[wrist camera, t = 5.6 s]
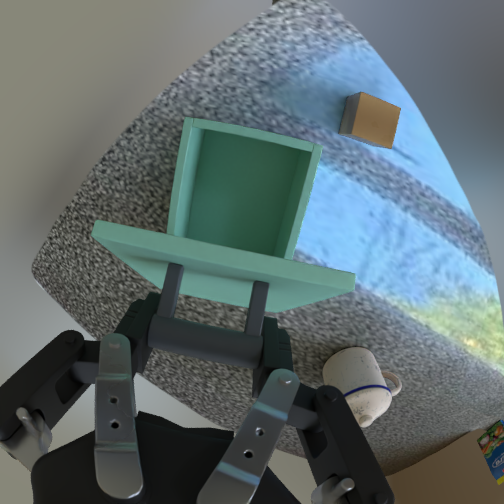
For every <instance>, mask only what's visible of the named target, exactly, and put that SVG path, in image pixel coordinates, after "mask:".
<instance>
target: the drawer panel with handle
mask: <svg viewBox="0 0 504 504" xmlns="http://www.w3.org/2000/svg"><path fill="white" fill-rule="evenodd" d="M91 236H92V237H93V238H94V239H96V240H97V241H98V242H99V243H101V244H102V245H103V246H104V247H106V248H107V249H108V250H109V251H111V252H112V253H113V254H114V255H116V256H117V257H118V258H120V259H121V260H122V261H123V262H125V263H126V264H127V265H129V266H130V267H131V268H133V269H134V270H135V271H137V272H138V273H139V274H141V275H142V276H143V277H145V278H146V279H147V280H149V281H150V282H152V283H153V284H154V285H156V286H157V287H158V288H160V289H162V293H161V297H160V302H159V307H158V311H157V313H155V314H154V315H153V317H152V319H151V321H150V324H149V328H148V334H147V344H148V346H149V347H152V348H156V349H160V350H163V351H167V352H171V353H176V354H180V355H184V356H188V357H193V358H198V359H202V360H207V361H212V362H217V363H222V364H228V365H233V366H239V367H245V368H251V369H257V368H258V366H259V364H260V361H261V357H262V352H263V336H261V330H262V324H263V319H264V313H265V311H269V312H274V313H278V312H282V311H285V310H289V309H293V308H296V307H300V306H304V305H307V304H311V303H314V302H318V301H321V300H325V299H328V298H332V297H335V296H338V295H342V294H345V293H348V292H351V291H354V287H355V277H356V275H355V274H354V273H350V272H346V271H341V270H336V269H331V268H326V267H322V266H317V265H312V264H307V263H303V262H298V261H293V260H288V259H284V258H279V257H274V256H269V255H264V254H260V253H255V252H250V251H245V250H241V249H236V248H231V247H226V246H221V245H217V244H212V243H207V242H202V241H198V240H193V239H188V238H183V237H178V236H174V235H169V234H164V233H159V232H155V231H150V230H145V229H140V228H135V227H131V226H126V225H121V224H116V223H112V222H107V221H102V220H96V221H95V224H94V227H93V230H92V233H91ZM179 293H181V294H185V295H190V296H194V297H199V298H203V299H208V300H213V301H217V302H222V303H227V304H232V305H237V306H242V307H247V308H248V313H247V318H246V324H245V329H244V332H240V331H235V330H230V329H225V328H220V327H215V326H210V325H205V324H201V323H196V322H192V321H187V320H183V319H179V318H174V313H175V309H176V304H177V299H178V295H179Z"/></svg>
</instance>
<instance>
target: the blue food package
mask: <svg viewBox="0 0 504 504" xmlns="http://www.w3.org/2000/svg"><path fill="white" fill-rule="evenodd" d="M477 442H478V444H479V446H480V448H481V450H482V452H483V455H484V457H485V459H486V461H487V464H488V466H489V468H490V471H491V473H492V475H493V476H494V478H495V479H496V480H497V482H498V485H499V484H501V483H502V482H503V481H504V421H502V420H500V421H499V422H498V423H496V424H495V425H494V426H493V427H492V428H491V429H489V430H488V431H487V432H486V433H484V434H483V435H482V436H481V437H480V438H479V439H478V440H477Z"/></svg>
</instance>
